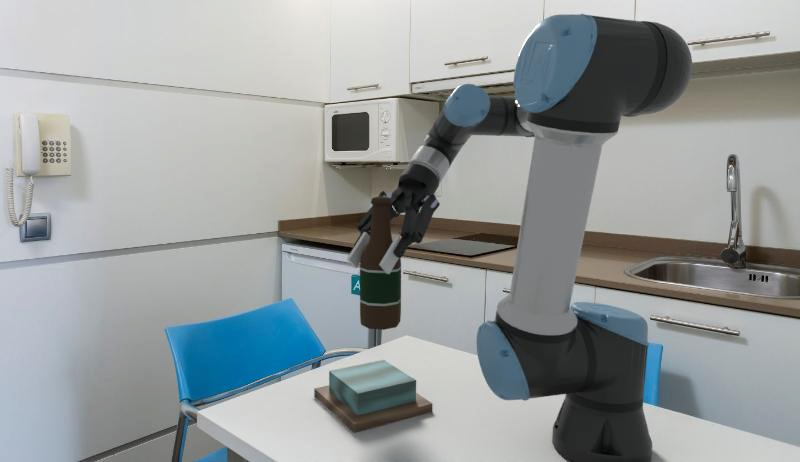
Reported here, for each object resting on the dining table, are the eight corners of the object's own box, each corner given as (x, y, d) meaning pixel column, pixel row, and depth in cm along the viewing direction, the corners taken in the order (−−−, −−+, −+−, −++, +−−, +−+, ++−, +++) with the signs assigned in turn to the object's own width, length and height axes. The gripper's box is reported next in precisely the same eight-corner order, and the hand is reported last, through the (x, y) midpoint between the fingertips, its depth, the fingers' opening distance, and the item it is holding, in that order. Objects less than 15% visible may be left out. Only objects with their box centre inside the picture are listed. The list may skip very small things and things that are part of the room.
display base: (432, 411, 104) (432, 382, 103) (354, 432, 96) (354, 401, 95) (385, 379, 119) (386, 354, 118) (314, 395, 110) (314, 368, 109)
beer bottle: (409, 322, 108) (410, 196, 105) (385, 332, 102) (385, 199, 99) (376, 316, 113) (376, 194, 110) (351, 325, 106) (350, 197, 103)
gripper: (473, 190, 109) (420, 286, 99) (393, 186, 122) (339, 271, 112) (458, 162, 104) (401, 261, 94) (376, 161, 117) (318, 247, 107)
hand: (367, 266), depth 103 cm, fingers closed on beer bottle, 7 cm apart
